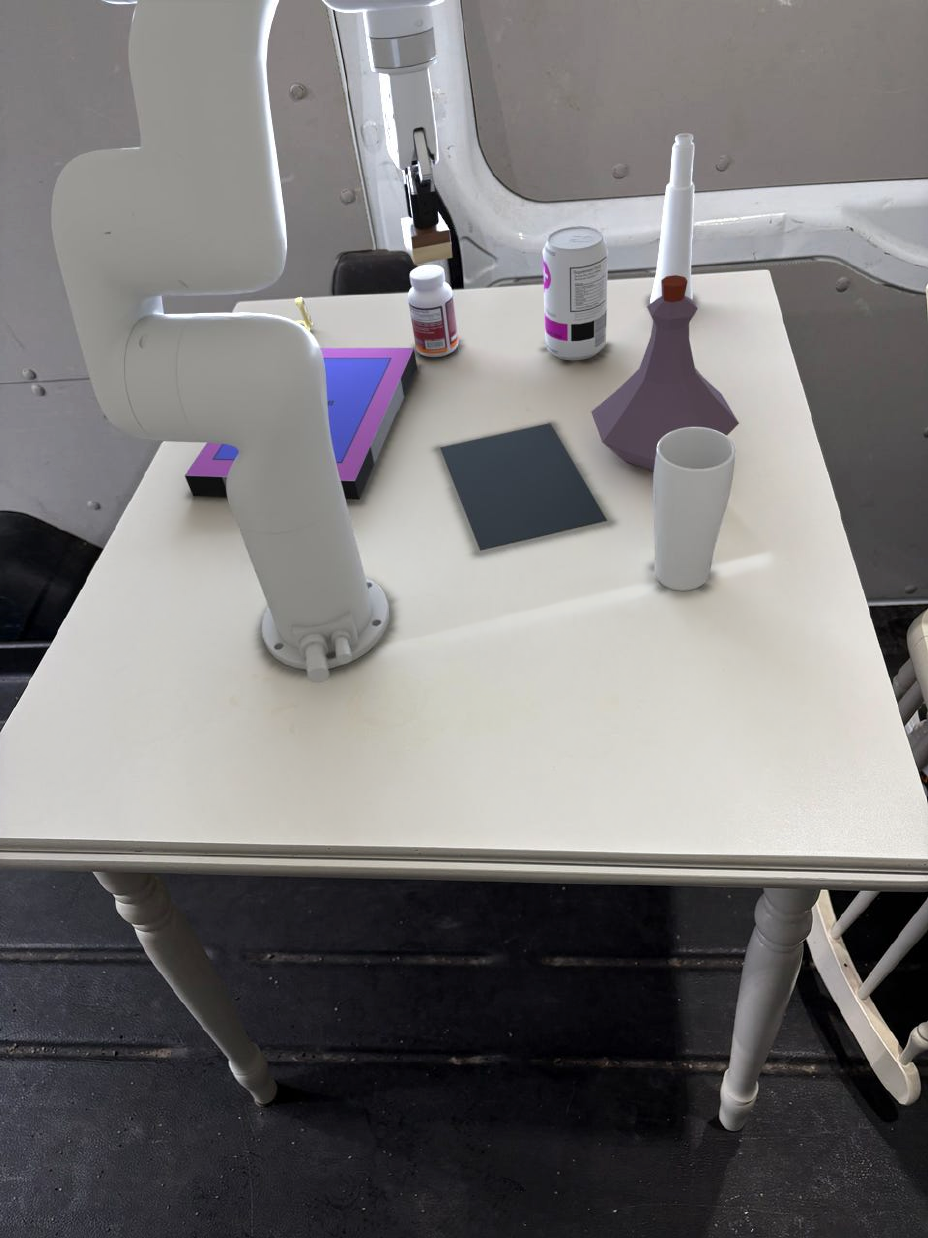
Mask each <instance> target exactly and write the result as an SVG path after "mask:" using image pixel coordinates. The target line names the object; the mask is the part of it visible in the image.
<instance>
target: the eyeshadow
mask: <svg viewBox="0 0 928 1238" xmlns="http://www.w3.org/2000/svg"><path fill="white" fill-rule="evenodd" d="M294 303H295V305H296V306H297V307H299V311H300V314H301V316H302V318H303V320H304V321H303V320H294V321H295V322H297V323H299V324H300V325H302V326H303V327H305V328H306V329H307V330H308V331H309V332H311V328H310V327H312V326H313V325H314V323H313V319H312V316H311V313H310V310H309V308H308V306H307V303H306V301H305V298H304V297H302V296H300V297H296V298H294Z"/></svg>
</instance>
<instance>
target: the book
mask: <svg viewBox="0 0 928 1238" xmlns="http://www.w3.org/2000/svg"><path fill="white" fill-rule="evenodd" d="M320 349H321V352H322V355H323V360H324V364H325V373H326V387H327V405H328V418H329V426H330V434H331V440H332V445H333V451H334V455H335V460H336V464H337V468H338V472H339V476H340V480H341V484H342V487H343V491H344V495H345V499H346V500H352V501H354V500H356V501H360V500H361V497H362V495H363V492H364V491H365V487H366V486H367V483H368V481H369V478H370V476H371V474H372V472H373V469H374V466H375V464H376V462H377V460H378V457H379V455H380V453H381V450H382V448H383V447H384V444H385V441H386V439H387V436H388V434H389V432H390V429H391V426H392V424H393V422H394V420H395V418H396V415H397V413H398V412H400V409H401V406H402V405H403V402H404V400H405V397H406V395H407V393H408V390H409V388H410V386H411V384H412V381H413V379H414V376H415V374H416V371H417V370H418V364H417V363H418V362H417V357H416V351H415V347H320ZM238 454H239V451H238V449H237V448H236V447H234V446H231V445H227V444H217V443H208V442H205V445H204V446H203V448H202V449H201V451H200V452H199V454H198V455H197V456H196V458H195V459H194V460H193V462H192V464H191V465H190V467H189V468H188V470H187V471H186V473H185V474H184V477H185V481H186V483H187V485H188V487H189V490H190V493H191V495H192V496H193V497H207V498H208V497H209V498H210V497H211V498H228V497H227V492H226V481H227V476H228V473H229V470H230V468H231V466H232V464H233V462H234V460H235V458H236V457H237V455H238Z"/></svg>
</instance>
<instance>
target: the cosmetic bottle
mask: <svg viewBox="0 0 928 1238" xmlns="http://www.w3.org/2000/svg"><path fill="white" fill-rule="evenodd" d="M674 140H675V142H674V143H673V145H672V148H671V151H672V152H671V164H670V177H669V182H668V183H667V184H666V188H665V196H664V202H663V203H664V204H663V212H662V219H661V220H662V221H661V231H660V240H659V248H658V256H657V264H656V271H655V276H654V283H653V287H652V292H651V295H650V301H649V304H651V303H652V302H653V301H655V300H656V299H657V298H659V297H661V296H662V286H661V280H662V279H664V278H665V277H666V276H673V275H678V276H682V277H685V278H686V280H687V281H688V282H687V287H686V291H685V296H687V297H688V298H690V299H691V300H693V299H694V298H693V286H692V285H693V284H692V283H693V282H692V255H693V254H692V252H693V251H692V250H693V231H694V229H693V228H694V211H695V209H694V208H695V183H694V182H693V181H692V180H693V171H694V170H693V169H694V158H695V157H694V156H695V148H696V147H695V143H694V142H693V140H694V135H693V133H689V132H685V133H684V132H683V133H678V134H676V135H675V138H674ZM693 301H694V300H693Z"/></svg>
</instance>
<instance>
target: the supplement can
mask: <svg viewBox="0 0 928 1238" xmlns="http://www.w3.org/2000/svg"><path fill="white" fill-rule="evenodd" d="M608 268H609V246H608V244H607V241H606V240H605V238H604V234H603V232H602V231H601V230H599V229H598V228H595V227H592V226H585V225H576V226H567V227H563V228H560V229H559V228H558V229H556V230H554V231H552V232H551V233H550V234H548V237H546V243H545V245H544V247H543V249H542V273H543V274H542V276H543V277H542V279H543V306H544V311H543V312H544V338H545V339H544V340H545V347H546V350H548V352H549V353H551V354H552V355H553V356H554V357H556V358H558V359H561V360H566V361H582V360H586V359H590V358H592V357H594V356H596V355H597V354H598V353H600V352H601V350H602V349H604V348H605V345H606V343H607V317H608V316H607V315H608V313H607V311H608V270H609V269H608Z"/></svg>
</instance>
